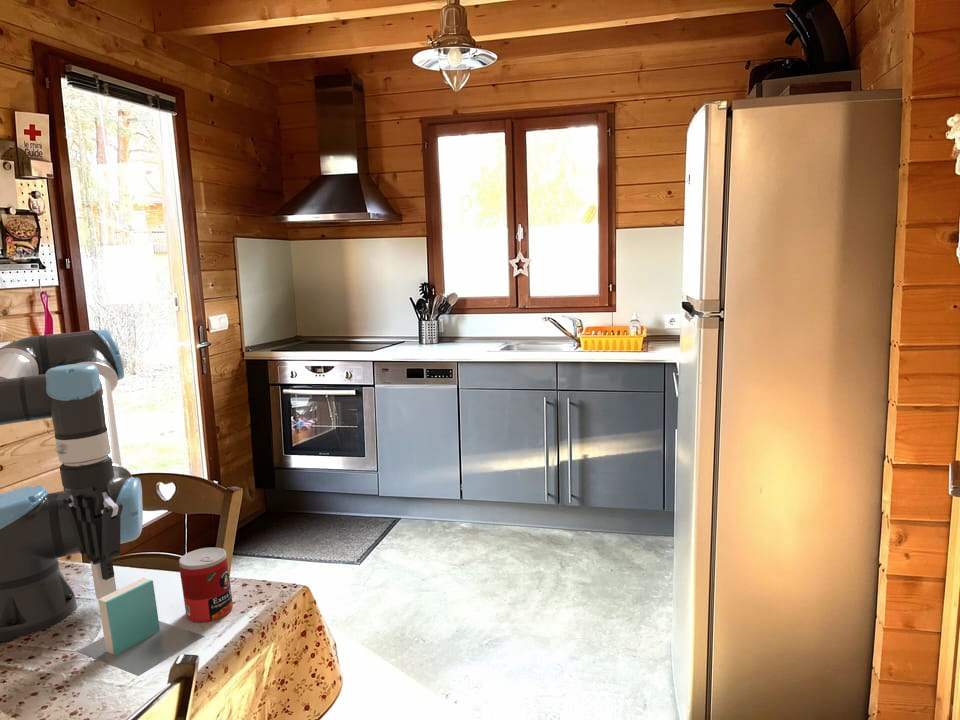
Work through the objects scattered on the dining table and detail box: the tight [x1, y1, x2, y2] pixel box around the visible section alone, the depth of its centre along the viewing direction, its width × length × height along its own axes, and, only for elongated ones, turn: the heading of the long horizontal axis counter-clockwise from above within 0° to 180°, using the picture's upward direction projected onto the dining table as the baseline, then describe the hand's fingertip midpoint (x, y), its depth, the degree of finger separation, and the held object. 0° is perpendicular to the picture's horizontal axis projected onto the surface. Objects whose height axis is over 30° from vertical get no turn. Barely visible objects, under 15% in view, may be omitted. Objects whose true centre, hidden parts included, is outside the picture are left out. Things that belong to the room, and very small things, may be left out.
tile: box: [97, 577, 160, 655], centre depth 116 cm, size 2×8×9 cm, turn 150°
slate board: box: [76, 620, 205, 677], centre depth 116 cm, size 16×12×1 cm
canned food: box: [178, 546, 234, 624], centre depth 124 cm, size 8×8×11 cm
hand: (106, 595), depth 118 cm, fingers closed
